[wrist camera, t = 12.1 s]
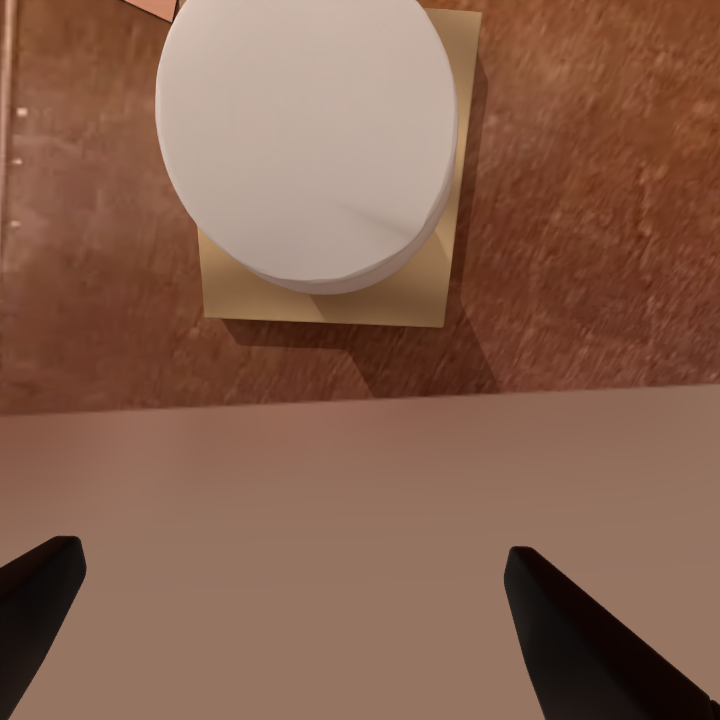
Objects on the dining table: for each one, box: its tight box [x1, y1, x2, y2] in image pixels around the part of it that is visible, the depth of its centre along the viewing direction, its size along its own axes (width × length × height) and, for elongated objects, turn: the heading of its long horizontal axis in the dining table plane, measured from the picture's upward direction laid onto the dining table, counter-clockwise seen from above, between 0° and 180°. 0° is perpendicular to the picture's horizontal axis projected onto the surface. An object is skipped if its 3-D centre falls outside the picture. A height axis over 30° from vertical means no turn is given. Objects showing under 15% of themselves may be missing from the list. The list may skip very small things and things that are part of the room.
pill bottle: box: [156, 0, 459, 295], centre depth 11 cm, size 6×6×11 cm
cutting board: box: [179, 0, 482, 328], centre depth 17 cm, size 12×11×2 cm
